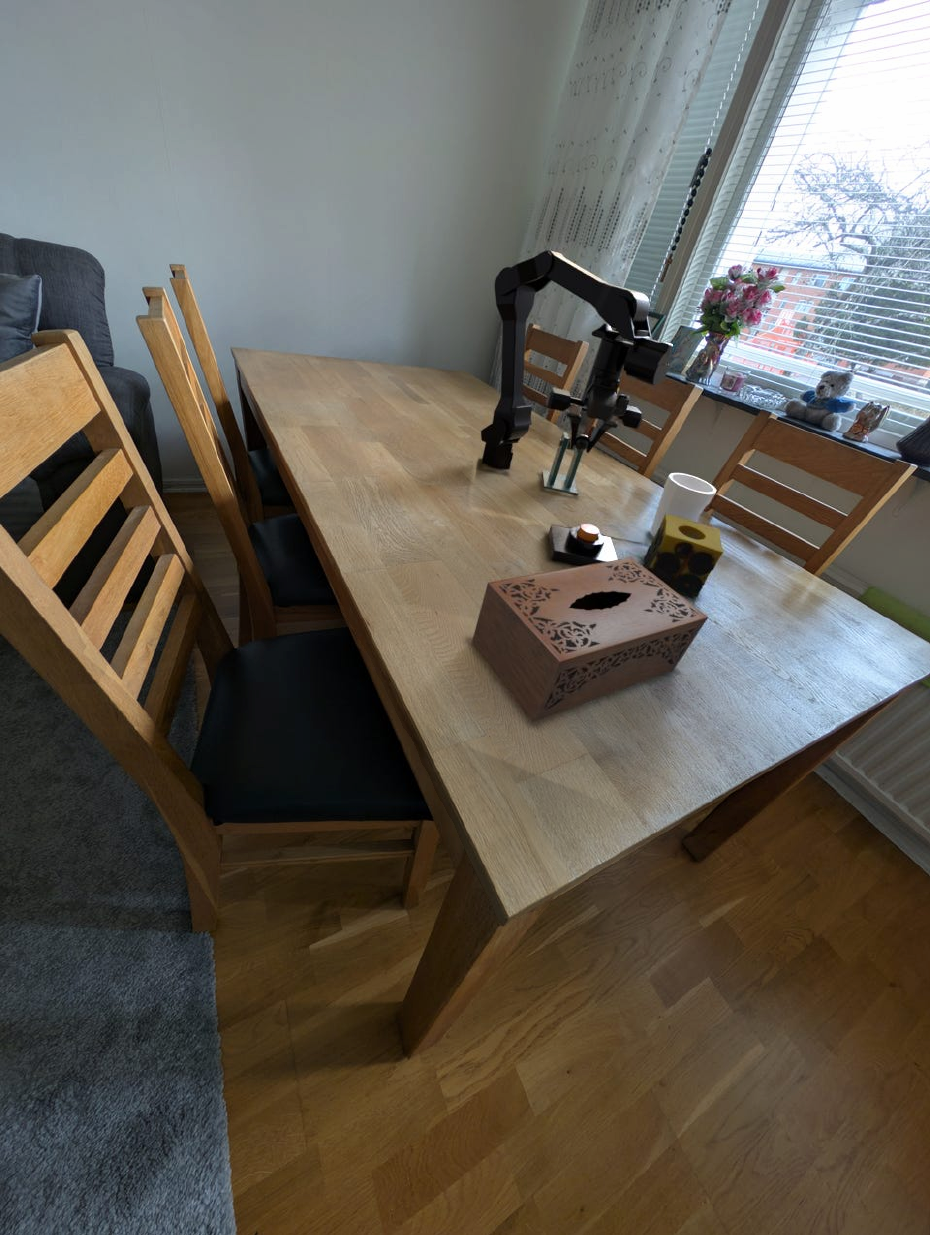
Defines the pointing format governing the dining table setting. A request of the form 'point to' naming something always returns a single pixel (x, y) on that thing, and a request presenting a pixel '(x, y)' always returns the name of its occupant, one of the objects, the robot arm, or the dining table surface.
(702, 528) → the yellow cube tissue box
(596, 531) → the button
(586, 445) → the lever
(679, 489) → the foam cup
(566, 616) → the tissue box cover
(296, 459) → the dining table surface
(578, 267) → the robot arm
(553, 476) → the teal pendulum stand
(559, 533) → the button box
